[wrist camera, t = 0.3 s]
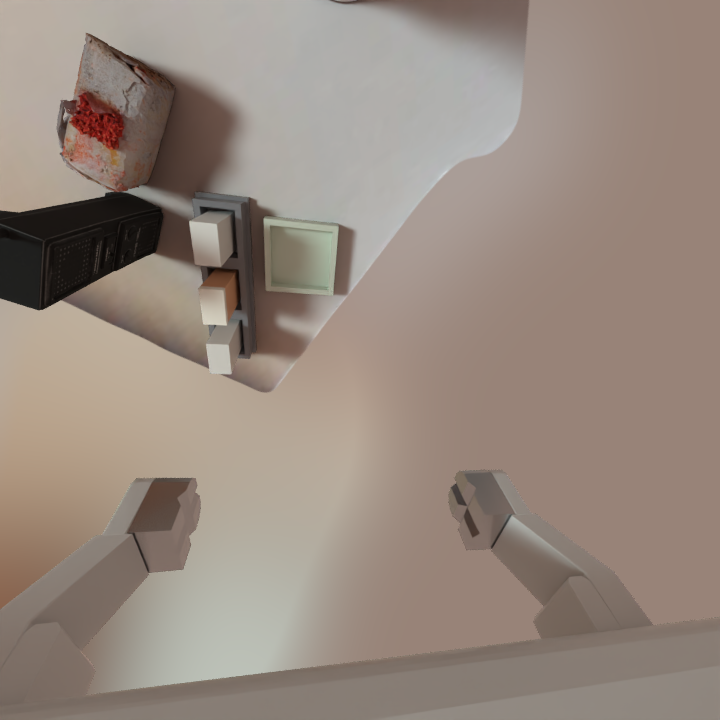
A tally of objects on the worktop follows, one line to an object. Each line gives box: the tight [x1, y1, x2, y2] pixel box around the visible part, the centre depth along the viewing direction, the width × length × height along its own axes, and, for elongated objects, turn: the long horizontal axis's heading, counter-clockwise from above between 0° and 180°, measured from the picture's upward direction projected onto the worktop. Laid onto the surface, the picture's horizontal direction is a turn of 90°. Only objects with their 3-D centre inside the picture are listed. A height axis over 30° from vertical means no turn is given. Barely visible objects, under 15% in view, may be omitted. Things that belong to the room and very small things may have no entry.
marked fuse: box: [198, 268, 240, 326], centre depth 47 cm, size 5×3×10 cm, turn 173°
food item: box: [57, 33, 175, 192], centre depth 36 cm, size 14×8×10 cm, turn 148°
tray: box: [264, 216, 339, 296], centre depth 50 cm, size 11×11×2 cm
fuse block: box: [189, 191, 257, 374], centre depth 47 cm, size 25×7×11 cm, turn 173°
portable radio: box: [0, 192, 163, 310], centre depth 36 cm, size 8×6×25 cm
